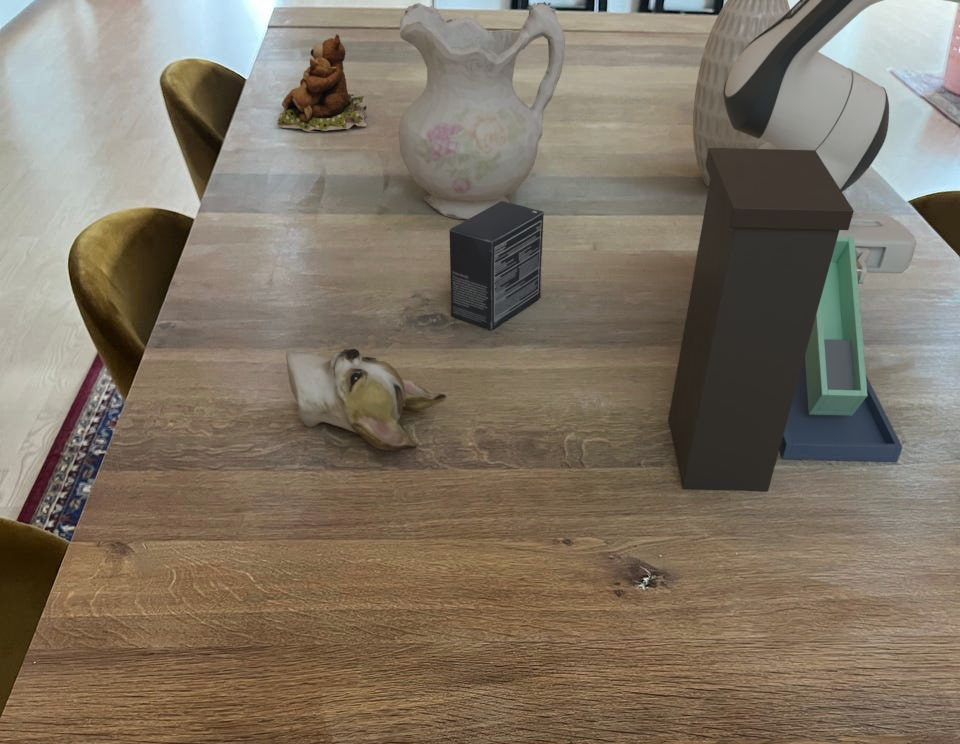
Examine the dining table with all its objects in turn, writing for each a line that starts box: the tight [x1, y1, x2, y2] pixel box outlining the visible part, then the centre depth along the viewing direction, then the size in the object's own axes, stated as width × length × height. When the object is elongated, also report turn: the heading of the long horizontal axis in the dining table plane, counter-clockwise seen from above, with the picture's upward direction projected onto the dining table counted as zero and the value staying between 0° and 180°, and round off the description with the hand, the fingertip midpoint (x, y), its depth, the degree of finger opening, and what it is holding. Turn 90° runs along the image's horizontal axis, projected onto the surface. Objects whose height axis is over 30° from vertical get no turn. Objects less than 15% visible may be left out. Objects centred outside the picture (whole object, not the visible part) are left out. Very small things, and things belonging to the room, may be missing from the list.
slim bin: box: [805, 236, 867, 416], centre depth 98 cm, size 4×18×4 cm, turn 179°
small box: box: [448, 201, 545, 331], centre depth 113 cm, size 11×6×10 cm, turn 144°
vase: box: [692, 0, 791, 188], centre depth 137 cm, size 13×13×28 cm
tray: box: [779, 358, 903, 463], centre depth 103 cm, size 11×23×2 cm, turn 179°
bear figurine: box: [277, 33, 368, 133], centre depth 160 cm, size 14×15×12 cm
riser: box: [667, 148, 854, 492], centre depth 86 cm, size 9×13×26 cm
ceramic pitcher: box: [398, 1, 566, 220], centre depth 131 cm, size 22×20×25 cm
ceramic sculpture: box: [285, 348, 448, 452], centre depth 95 cm, size 11×9×15 cm
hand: (829, 276), depth 99 cm, fingers closed on slim bin, 4 cm apart
